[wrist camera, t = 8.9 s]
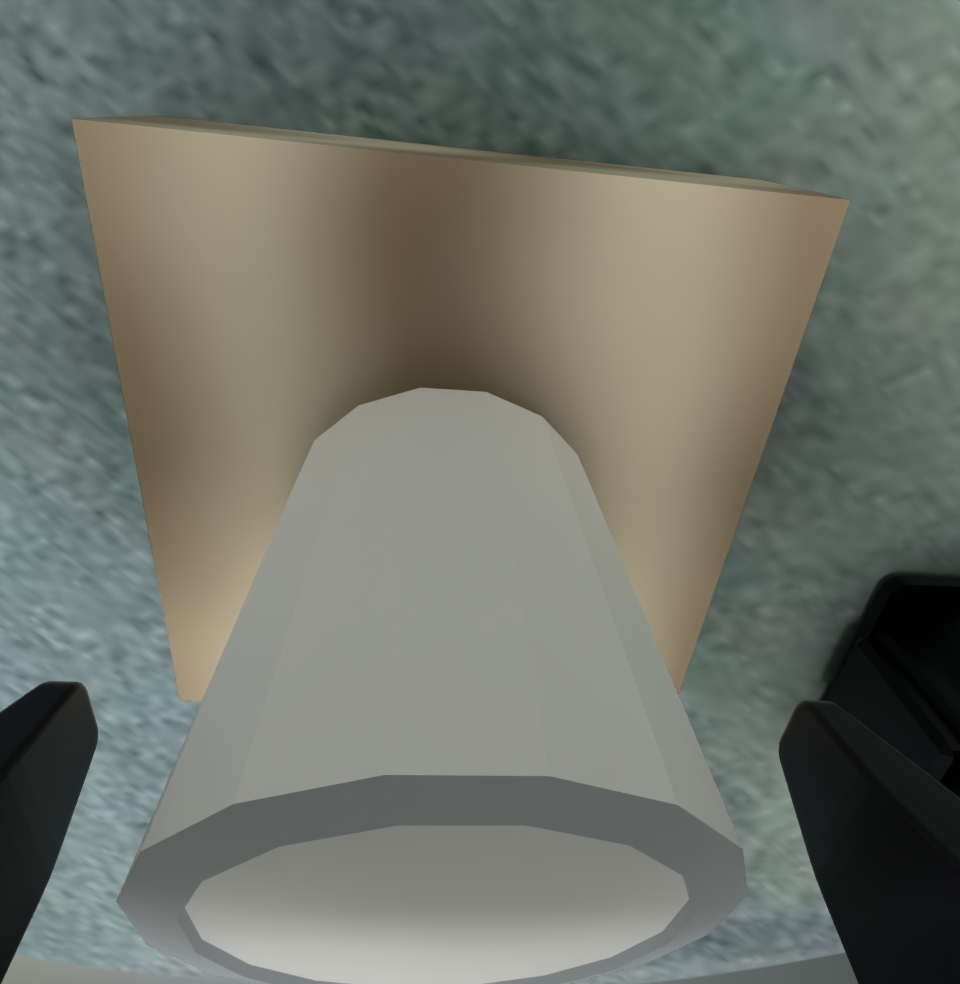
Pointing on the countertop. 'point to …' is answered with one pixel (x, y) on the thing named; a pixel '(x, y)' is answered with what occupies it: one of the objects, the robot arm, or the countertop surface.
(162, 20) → the countertop surface
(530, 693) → the shot glass
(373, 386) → the birch block
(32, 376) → the countertop surface
